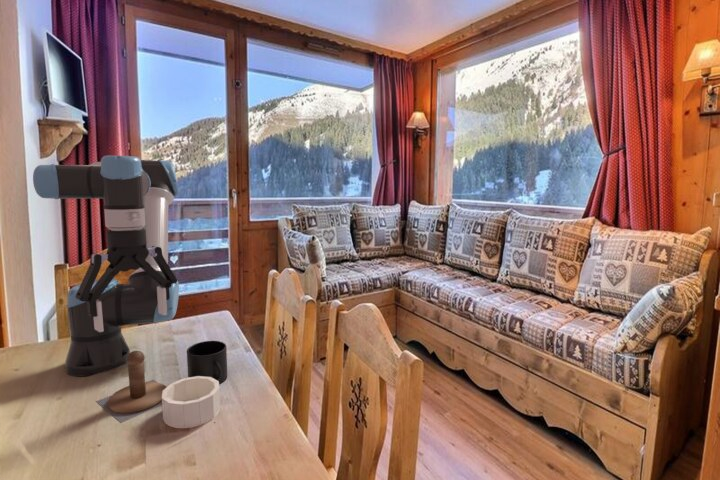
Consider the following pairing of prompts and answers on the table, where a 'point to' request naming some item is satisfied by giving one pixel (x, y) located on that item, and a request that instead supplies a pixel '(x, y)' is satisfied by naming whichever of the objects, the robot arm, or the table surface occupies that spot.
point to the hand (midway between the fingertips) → (132, 321)
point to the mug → (208, 360)
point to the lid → (136, 389)
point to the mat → (122, 417)
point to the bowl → (191, 401)
